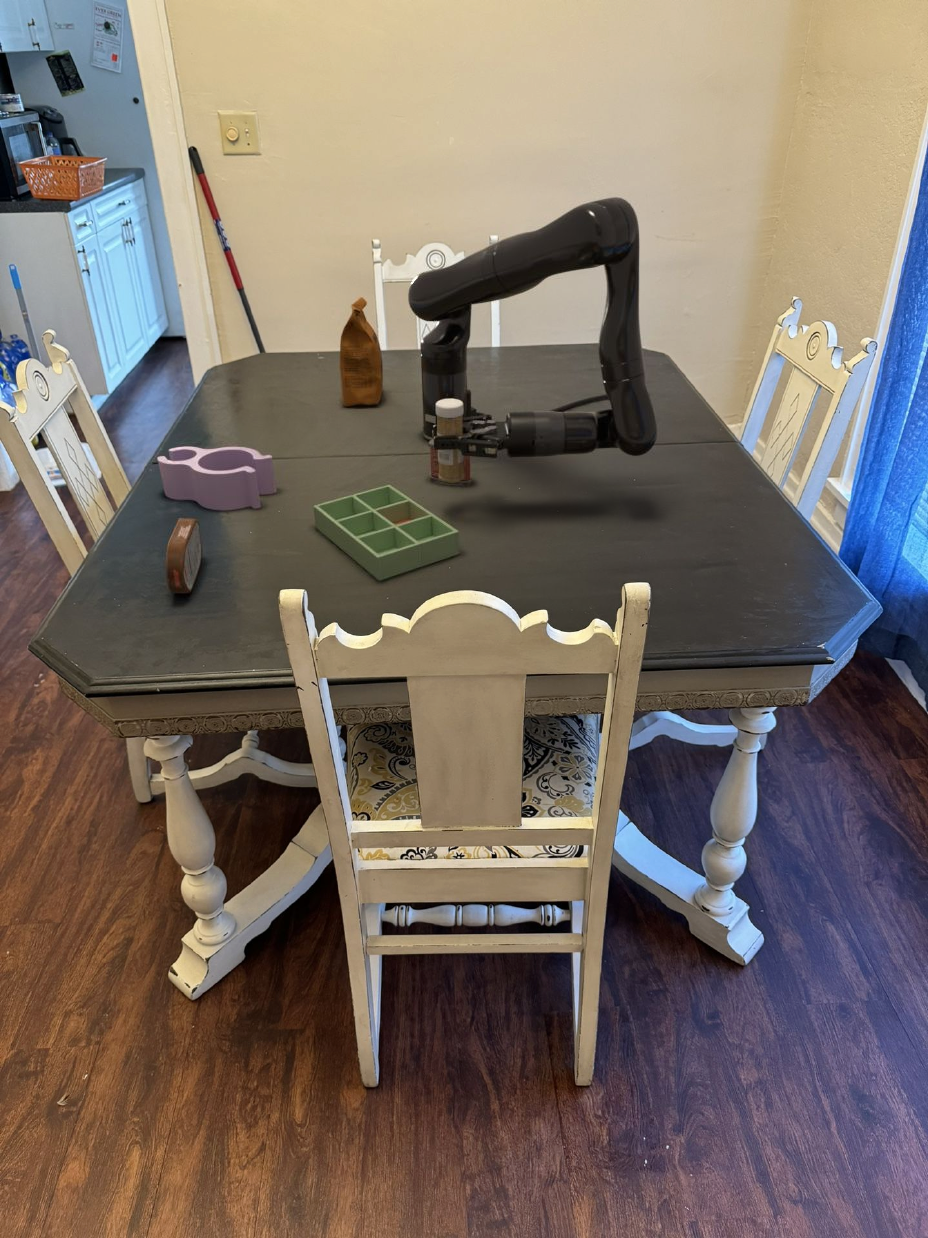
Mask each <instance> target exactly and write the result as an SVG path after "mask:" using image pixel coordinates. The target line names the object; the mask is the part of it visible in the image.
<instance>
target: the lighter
mask: <svg viewBox="0 0 928 1238" xmlns="http://www.w3.org/2000/svg"><path fill="white" fill-rule="evenodd" d="M432 436H433V437H434V435H433V431H432ZM428 441H429V440H428ZM428 447H429V455H430V457H429V458H430V459H429V461H430V474H429V480H430V482H432V483H436V484H441V485H448V486H457V487H467V486H470V485H471V484H472V477H471V456H464V460H463V467H464V478H463V479H462V480H461V481H458V482H453V483H449V482H444V481H442V480H440V479H439V477H438V475H439V461H438V450H435V449H434V440H431V441H429V442H428ZM469 451H471V450H469Z"/></svg>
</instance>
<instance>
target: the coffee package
mask: <svg viewBox="0 0 928 1238" xmlns="http://www.w3.org/2000/svg"><path fill="white" fill-rule="evenodd" d="M367 305H368V301H366V299H365V298H364V297H358V299H356V301H354V303H351V304H350V306H351V307H350V308H351V311H352V312H351V314H350V315H349V318H348V320H347V321H346V323H345V325H344V326H343V328H342V332H341V335H340V342H339V374H340V388H341V401H342V405H343V406H344V407H354V406H355V407H356V406H372V405H378V404H379V403H380V401H381V398H382V394H383V389H384V386H383V383H384V379H383V377H384V376H383V375H384V374H383V373H384V371H383V370H384V367H383V357H382V356H383V355H382V350H381V349H382V348H381V345H380V341H379V337H378V335H377V333H376V331H375V330H374V328H373V327H372V325H371V323H370V322H369V321H368V320H367V317H366V315H365V312H364V308H366V306H367Z"/></svg>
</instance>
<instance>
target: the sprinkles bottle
mask: <svg viewBox="0 0 928 1238" xmlns="http://www.w3.org/2000/svg"><path fill="white" fill-rule="evenodd" d="M436 415H437V436H446V435H456V438H457V436H458V435H463V429H462V427H463V425H462V416H463V402H462V401H460V400H458V399H443V400H439V401H438V402H437V403H436ZM463 460H464V456H463V455H462V452H460V451H457V449H452V450H438V461H439V475H438V477H439V479H440V480H442V481H444V482H449V483H453V482H458V481H461V480H462V479H463V478H464V467H463Z"/></svg>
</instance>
